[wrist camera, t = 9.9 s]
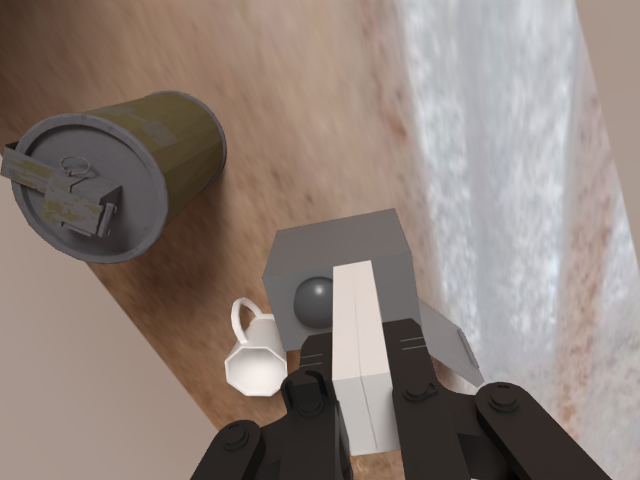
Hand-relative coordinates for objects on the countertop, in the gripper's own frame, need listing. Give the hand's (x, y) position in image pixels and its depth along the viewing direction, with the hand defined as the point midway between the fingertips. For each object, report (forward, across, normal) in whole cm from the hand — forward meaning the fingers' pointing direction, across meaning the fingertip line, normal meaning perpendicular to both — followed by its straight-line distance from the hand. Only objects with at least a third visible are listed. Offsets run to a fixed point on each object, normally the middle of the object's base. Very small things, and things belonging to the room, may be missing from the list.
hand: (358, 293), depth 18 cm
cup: (+30, -14, -18) cm, 37 cm away
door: (+28, +6, -20) cm, 35 cm away
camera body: (+29, -2, -12) cm, 32 cm away
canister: (+30, -17, +4) cm, 34 cm away
